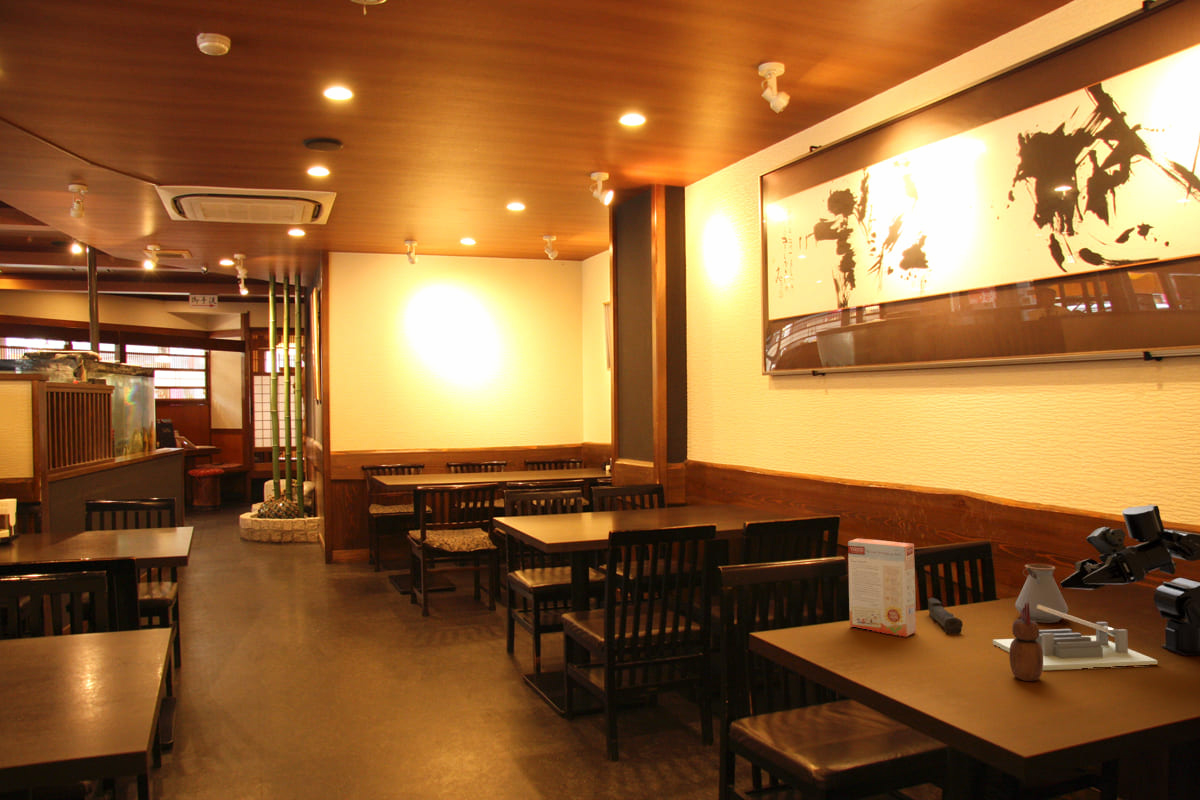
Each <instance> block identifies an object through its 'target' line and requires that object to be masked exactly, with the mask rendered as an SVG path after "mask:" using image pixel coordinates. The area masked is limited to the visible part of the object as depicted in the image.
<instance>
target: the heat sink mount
mask: <svg viewBox="0 0 1200 800" xmlns="http://www.w3.org/2000/svg"><path fill="white" fill-rule="evenodd" d="M1095 624H1097V625H1100V626H1108V627H1109V623H1108V622H1106V621H1096V622H1095ZM1114 629H1115V637H1114V642H1113V641H1110V640H1109V635H1108V634H1105V633H1103V632H1102V631H1101V630H1098V629H1095V635H1082V633H1080V632H1073V630H1072V629H1071V628H1059V629H1058V628H1057V629H1053V628H1052V629H1039V637H1038V638H1037V639H1036V640H1037V641H1038V642H1039V643H1040V645H1041V647H1042V650H1043V669H1042V671H1057V670H1061V671H1063V670H1064V671H1065V670H1082V668H1088V669H1094V668H1093V667H1111V668H1113V667H1112V666H1127V665H1149V664H1158V660H1157V659H1155V658H1152V657H1150V656H1147V655H1145V654H1142V653H1139V652H1138V651H1135V650H1133V649H1130V648H1129V647H1128V646H1129V643H1128V642H1129V641H1128V638H1129V637H1128V629H1124V628H1120V629H1118V628H1117V629H1116V628H1114ZM1014 639H1015V638H1002V639H1001V638H1000V639H999V638H998V639H992V644H993V645H994V646H995V645H996V646H995V647H997V648H999V647H1000V648H999V649H1001V650H1003V651H1005V652H1007V653H1009V652H1010V645H1011V642H1012V641H1013V640H1014Z"/></svg>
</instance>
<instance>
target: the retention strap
mask: <svg viewBox="0 0 1200 800" xmlns="http://www.w3.org/2000/svg"><path fill="white" fill-rule="evenodd" d="M1037 608H1038V609H1041V610H1043V611H1046V612H1048V613H1051V614H1054V615H1057V616H1060V617H1063V618H1064V619H1066V620H1070V621H1071V622H1075V623H1078V624H1081V625H1083V626H1087V627H1090V628H1092V629H1094V630H1096V629H1098V630H1101V631H1102V632H1103V633H1105V634H1108V636H1111V637H1114V638H1115V629H1116V628H1113V627H1110V626H1109V625H1108V626H1100V625H1097V624H1096V623H1093V622H1091V621H1088V620H1084V619H1083V618H1082V619H1081V618H1079V617H1076V616H1073V615H1070V614H1068V613H1067V614H1065V613H1062V612H1059V611H1056V610H1053V609H1050V608H1047V607H1044V606H1041V605H1037ZM1063 618H1062V619H1063Z"/></svg>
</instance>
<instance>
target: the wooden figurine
mask: <svg viewBox="0 0 1200 800" xmlns="http://www.w3.org/2000/svg"><path fill="white" fill-rule="evenodd" d="M1011 630H1012V635H1013V636H1014V638H1013V639H1014V640H1013V641H1012V642H1011V645H1010V652H1008V653H1009V654H1008V656H1009V658H1008V659H1009V666H1010V669H1011V672H1012V675H1013V676H1014V677H1015V678H1017V679H1018V680H1021V681H1024V682H1025V681H1026V682H1034V681H1035V682H1036V681H1037V680H1039V679H1040V678H1041V676H1042V673H1043V670H1042V669H1043V650H1042V647H1041V645H1040V643H1039V642H1038V641H1037V640H1036V639H1037V638H1038V637H1039V630H1040V628H1039V625H1038V622H1036V621H1032V620H1030V609H1029V603H1027V605H1026V603H1025V607H1024V608H1023V611H1021V614H1020V618H1017V619H1015V620H1013V622H1012V628H1011Z"/></svg>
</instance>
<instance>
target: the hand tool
mask: <svg viewBox="0 0 1200 800" xmlns="http://www.w3.org/2000/svg"><path fill="white" fill-rule="evenodd" d="M927 601H928V612H929V616H930V618H931V620H936V622H938V623H939V624H940V626H941V627H943V628H944V629H943V631H944V632H945V633H946V634H948V635H958V634H959V635H960V634H961V633H962V631H963V630H962V629H963V621H962V620H961V618H959V617H955V615H954V614H953V613H952V612H951V613H950V612H949V611H948V610H946V609H945V608H944V607H943V603H942V602H941V601H940V600H939V599H937V598H934V597H930V598H928V599H927Z"/></svg>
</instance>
